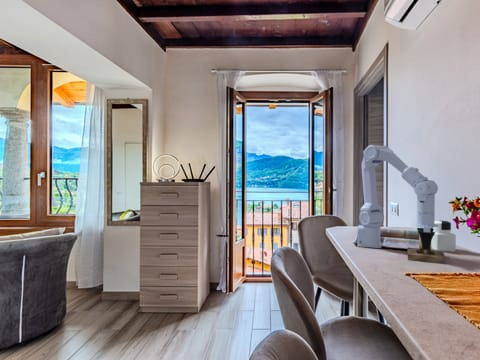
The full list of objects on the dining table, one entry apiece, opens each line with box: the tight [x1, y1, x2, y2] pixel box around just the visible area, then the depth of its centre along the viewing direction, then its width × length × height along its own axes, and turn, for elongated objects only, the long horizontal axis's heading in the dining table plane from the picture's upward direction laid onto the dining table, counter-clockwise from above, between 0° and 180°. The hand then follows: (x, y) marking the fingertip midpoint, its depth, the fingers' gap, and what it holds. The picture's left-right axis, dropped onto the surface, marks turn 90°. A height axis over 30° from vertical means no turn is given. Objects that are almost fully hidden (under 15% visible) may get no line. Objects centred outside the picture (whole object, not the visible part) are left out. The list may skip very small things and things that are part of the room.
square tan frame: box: [406, 247, 447, 264], centre depth 124 cm, size 12×12×2 cm
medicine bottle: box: [431, 220, 457, 253], centre depth 136 cm, size 7×7×12 cm
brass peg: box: [418, 234, 432, 254], centre depth 123 cm, size 4×4×7 cm
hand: (425, 248), depth 123 cm, fingers closed on brass peg, 4 cm apart
